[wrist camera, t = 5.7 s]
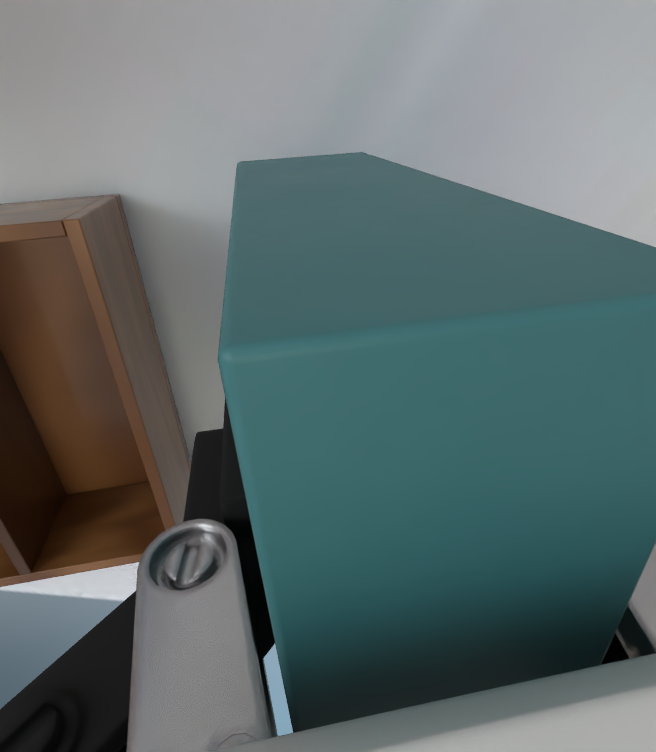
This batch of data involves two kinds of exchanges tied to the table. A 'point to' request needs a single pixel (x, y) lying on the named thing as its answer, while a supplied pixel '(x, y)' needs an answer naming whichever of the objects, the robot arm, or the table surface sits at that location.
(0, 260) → the caddy
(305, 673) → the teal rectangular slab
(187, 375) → the table surface
